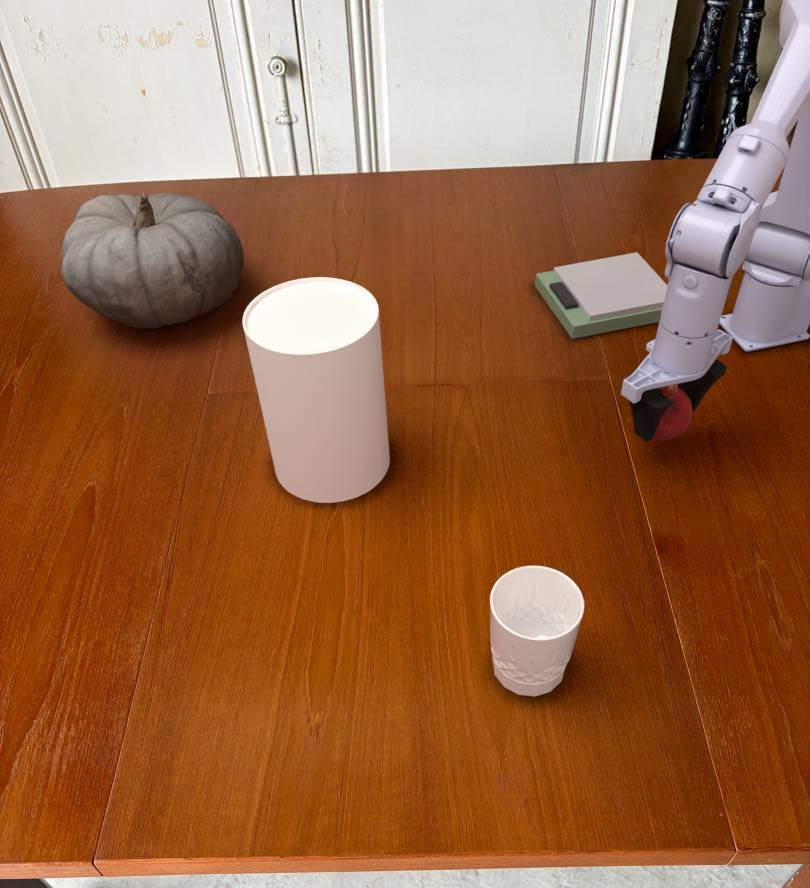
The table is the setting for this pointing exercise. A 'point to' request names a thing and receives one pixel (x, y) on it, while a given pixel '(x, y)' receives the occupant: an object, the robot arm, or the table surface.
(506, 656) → the white cup
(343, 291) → the canister
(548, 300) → the scale
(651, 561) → the table surface
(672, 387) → the onion
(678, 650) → the table surface
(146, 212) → the gourd
